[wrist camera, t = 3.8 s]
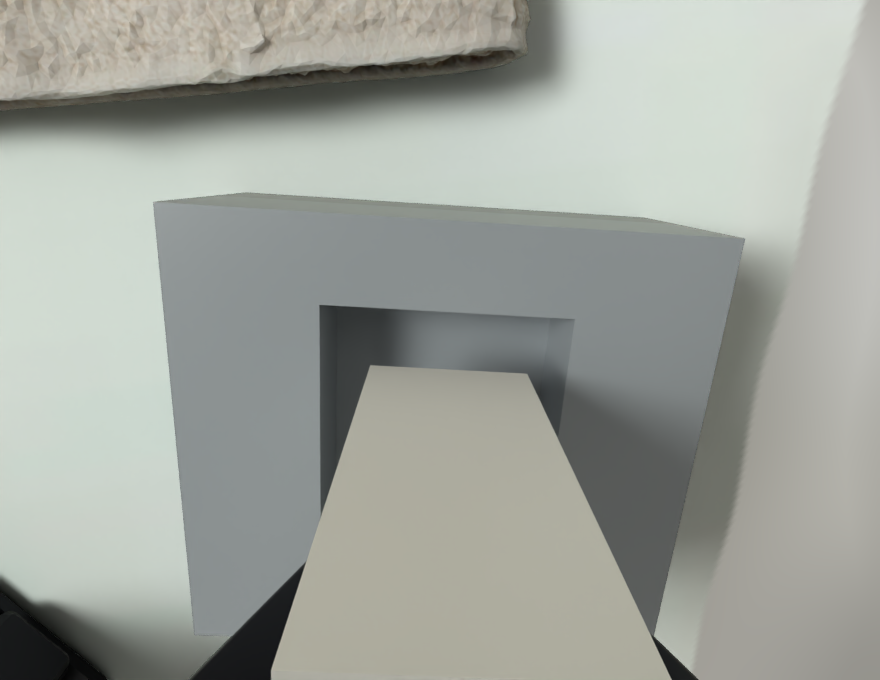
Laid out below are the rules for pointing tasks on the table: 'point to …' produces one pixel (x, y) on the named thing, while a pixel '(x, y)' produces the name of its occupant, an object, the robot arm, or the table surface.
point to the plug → (459, 547)
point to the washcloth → (240, 45)
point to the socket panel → (425, 360)
